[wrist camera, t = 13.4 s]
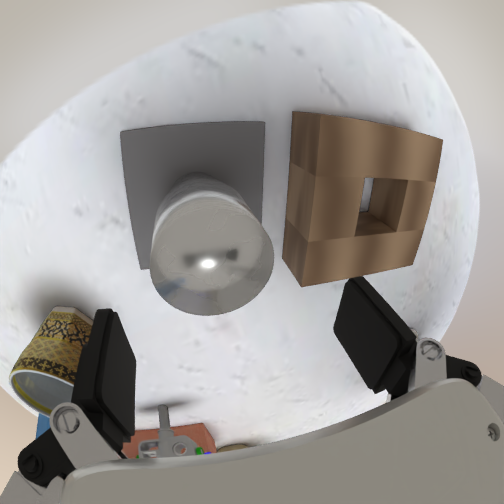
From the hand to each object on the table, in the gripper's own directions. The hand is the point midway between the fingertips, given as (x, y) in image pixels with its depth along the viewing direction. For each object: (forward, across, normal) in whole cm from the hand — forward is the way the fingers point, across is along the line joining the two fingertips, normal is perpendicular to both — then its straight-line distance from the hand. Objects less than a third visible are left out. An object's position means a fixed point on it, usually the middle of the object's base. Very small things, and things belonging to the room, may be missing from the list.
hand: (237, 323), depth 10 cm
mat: (+14, +1, -1) cm, 14 cm away
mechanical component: (+14, +10, +32) cm, 36 cm away
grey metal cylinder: (+13, +1, -1) cm, 13 cm away
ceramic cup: (+14, +17, +14) cm, 26 cm away
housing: (+14, -14, -1) cm, 20 cm away
